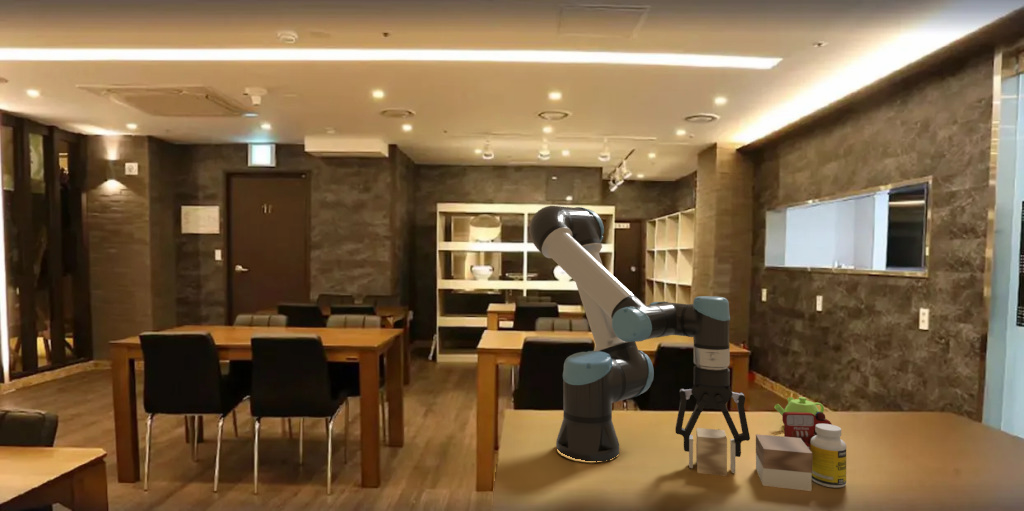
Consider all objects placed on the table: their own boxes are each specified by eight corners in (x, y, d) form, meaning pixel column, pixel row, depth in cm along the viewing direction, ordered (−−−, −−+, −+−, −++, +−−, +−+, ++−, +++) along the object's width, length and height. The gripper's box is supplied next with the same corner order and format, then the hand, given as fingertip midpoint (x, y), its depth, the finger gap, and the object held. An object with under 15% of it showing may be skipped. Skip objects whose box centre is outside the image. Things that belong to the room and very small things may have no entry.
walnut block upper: (763, 468, 108) (763, 448, 108) (755, 452, 117) (755, 434, 117) (812, 473, 106) (812, 453, 106) (800, 456, 114) (800, 437, 114)
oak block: (697, 472, 115) (697, 436, 115) (696, 462, 120) (696, 427, 120) (727, 476, 113) (727, 439, 113) (724, 465, 119) (724, 430, 119)
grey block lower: (762, 487, 108) (762, 467, 108) (755, 469, 117) (755, 451, 117) (811, 492, 106) (811, 473, 106) (800, 474, 114) (800, 456, 114)
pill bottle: (834, 491, 106) (834, 434, 105) (803, 479, 111) (803, 424, 111) (853, 485, 109) (853, 429, 108) (822, 473, 114) (822, 420, 114)
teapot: (832, 428, 143) (832, 397, 143) (819, 438, 136) (819, 406, 135) (788, 419, 152) (788, 390, 151) (773, 428, 144) (773, 397, 144)
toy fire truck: (846, 462, 120) (846, 417, 120) (790, 461, 121) (790, 416, 121) (829, 451, 127) (829, 408, 127) (777, 450, 128) (777, 407, 128)
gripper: (662, 366, 116) (662, 469, 116) (765, 372, 110) (765, 480, 110) (663, 360, 123) (663, 456, 123) (760, 365, 117) (760, 467, 117)
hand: (711, 467), depth 117 cm, fingers open, 8 cm apart
